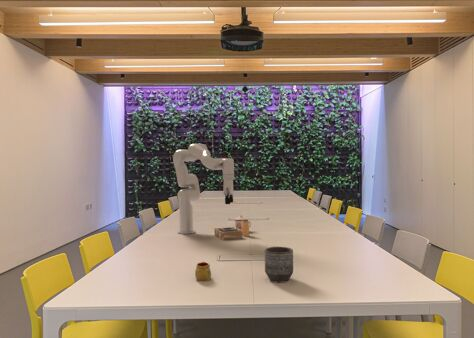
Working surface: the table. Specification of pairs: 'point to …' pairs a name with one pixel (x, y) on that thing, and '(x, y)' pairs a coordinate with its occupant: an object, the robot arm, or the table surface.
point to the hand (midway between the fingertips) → (229, 203)
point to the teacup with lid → (239, 222)
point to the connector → (245, 227)
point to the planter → (279, 263)
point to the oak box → (228, 233)
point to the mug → (202, 271)
